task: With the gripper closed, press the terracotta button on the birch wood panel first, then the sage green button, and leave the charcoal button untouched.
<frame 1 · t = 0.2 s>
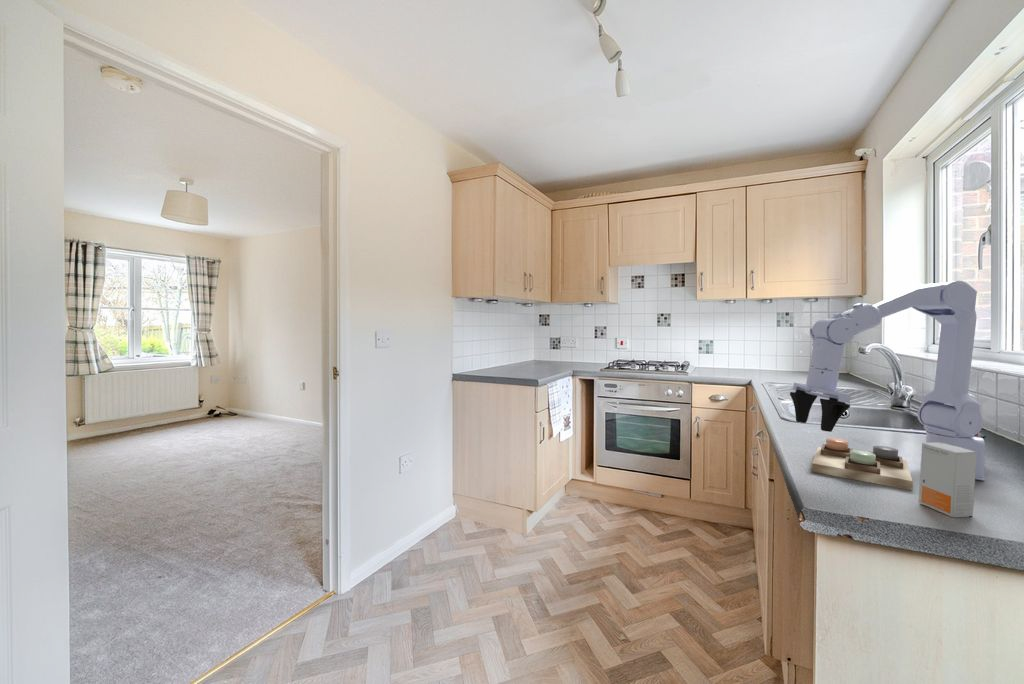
hand: (813, 426, 98), 10 cm above the countertop, tool pointing down, fingers open, 7 cm apart
charcoal button: (885, 452, 98), point 4 cm above the countertop, slide at 0.0 cm
terracotta button: (837, 444, 105), point 4 cm above the countertop, slide at 0.0 cm
soda can: (956, 461, 105), on the countertop
skincare box: (945, 511, 78), on the countertop
sage button: (862, 457, 95), point 4 cm above the countertop, slide at 0.0 cm
button panel: (859, 470, 99), on the countertop
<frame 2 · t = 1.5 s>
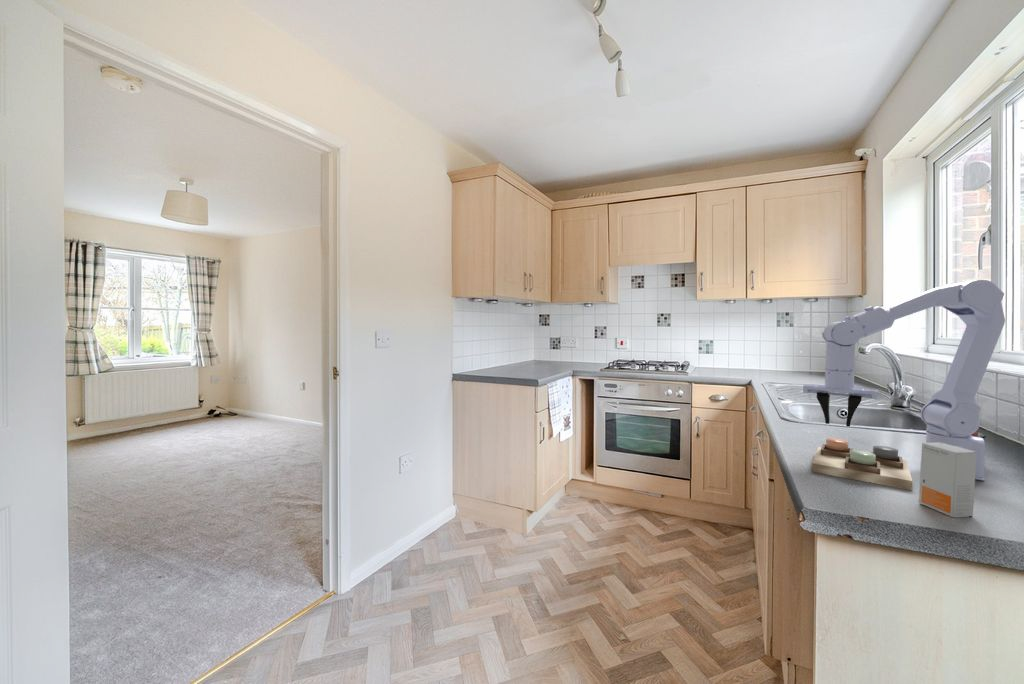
hand: (837, 424, 105), 9 cm above the countertop, tool pointing down, fingers open, 3 cm apart
nothing on the countertop moved.
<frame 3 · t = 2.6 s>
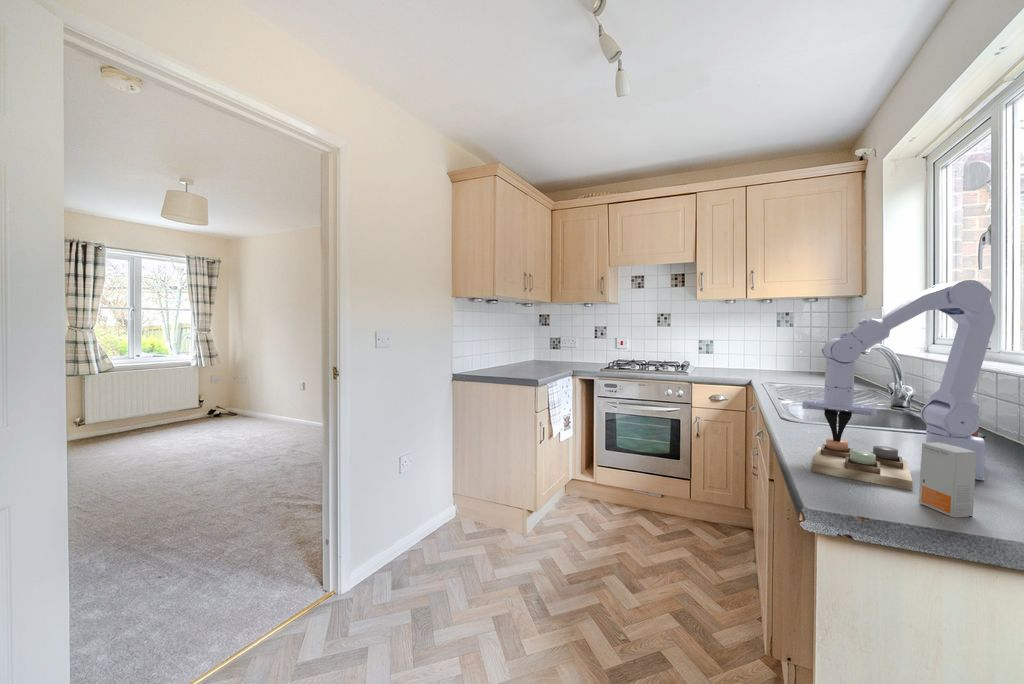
hand: (836, 440, 105), 5 cm above the countertop, tool pointing down, fingers closed, pressing on terracotta button
terracotta button: (837, 444, 105), point 4 cm above the countertop, slide at 0.0 cm, touching gripper
everything else where it was.
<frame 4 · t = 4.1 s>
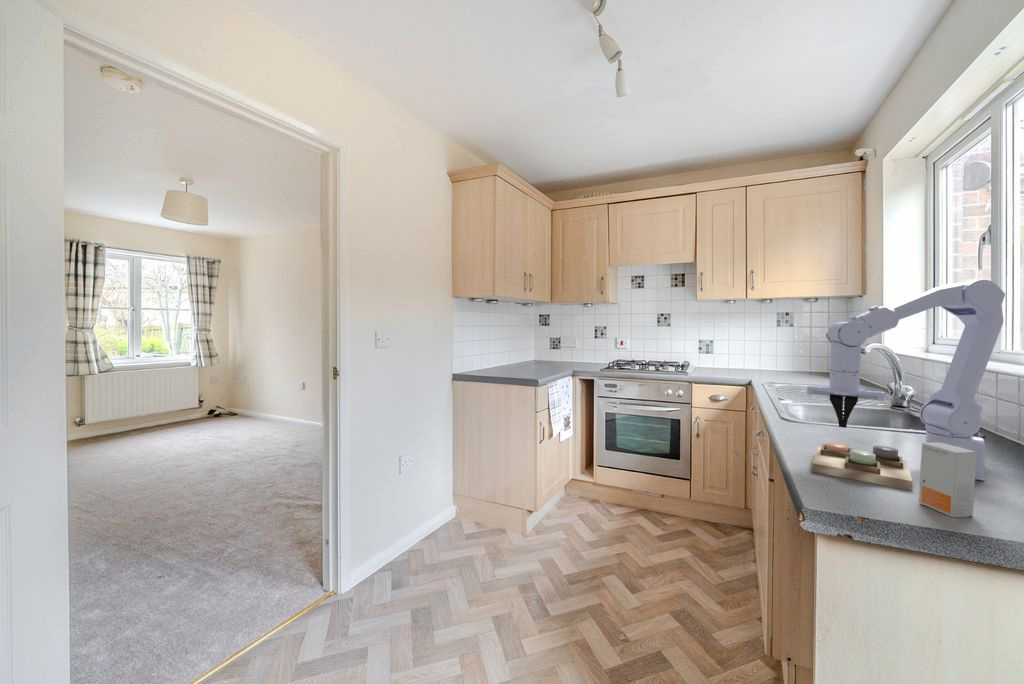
hand: (842, 426, 102), 9 cm above the countertop, tool pointing down, fingers closed
terracotta button: (836, 449, 105), point 3 cm above the countertop, slide at 1.3 cm
everything else where it was.
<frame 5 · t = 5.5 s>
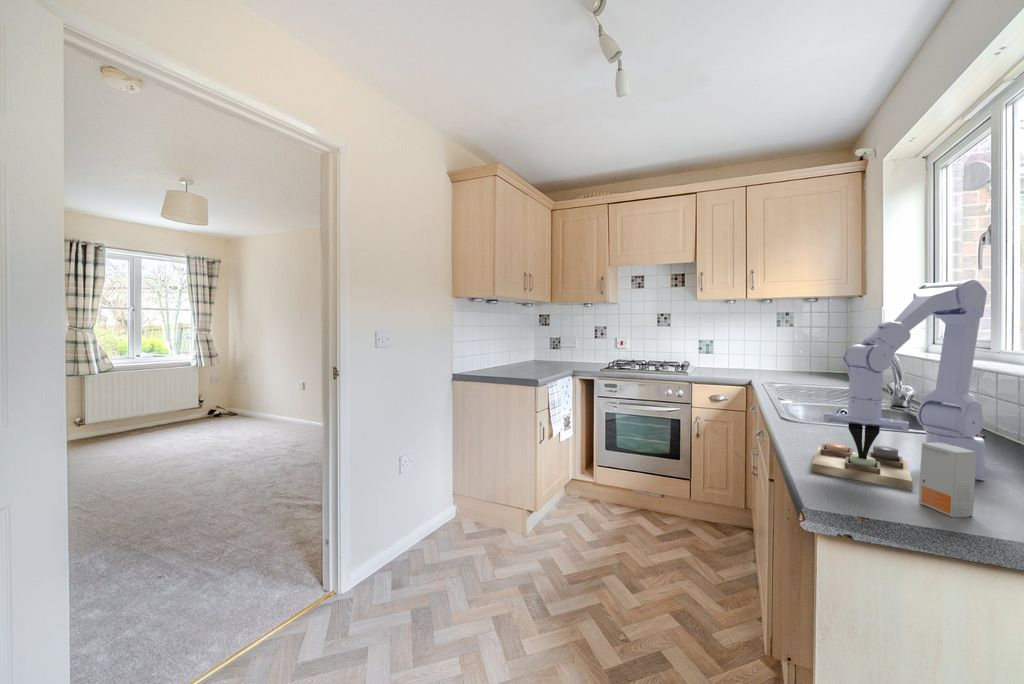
hand: (862, 457, 95), 4 cm above the countertop, tool pointing down, fingers closed, pressing on sage button
sage button: (862, 461, 95), point 3 cm above the countertop, slide at 1.0 cm, touching gripper
everything else where it was.
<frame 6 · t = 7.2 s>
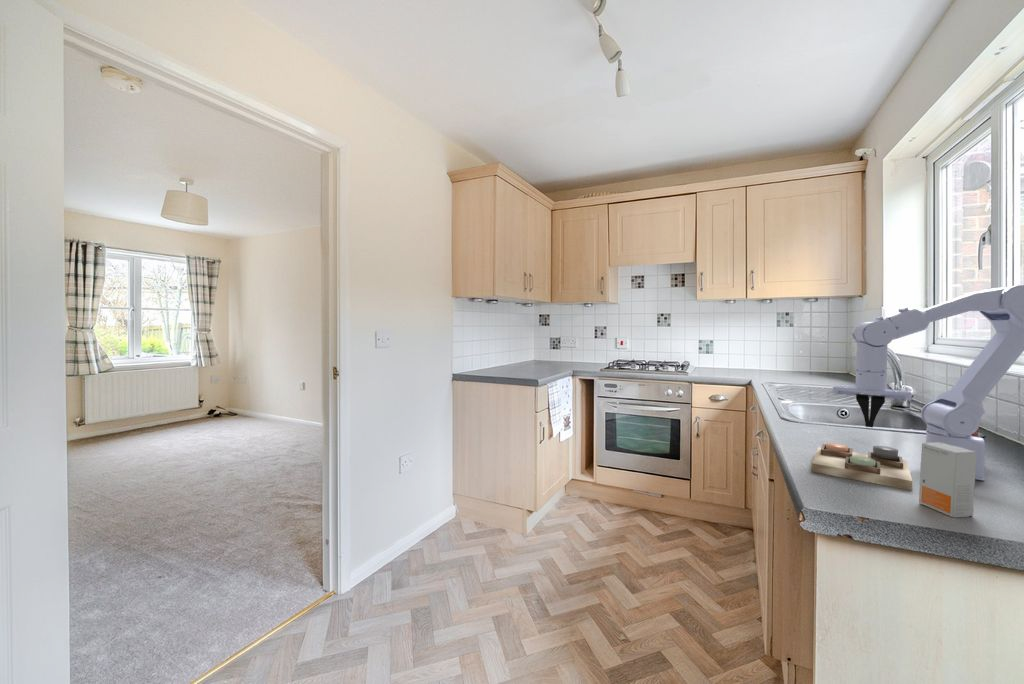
hand: (869, 426, 103), 9 cm above the countertop, tool pointing down, fingers closed
sage button: (862, 462, 95), point 3 cm above the countertop, slide at 1.3 cm
everything else where it was.
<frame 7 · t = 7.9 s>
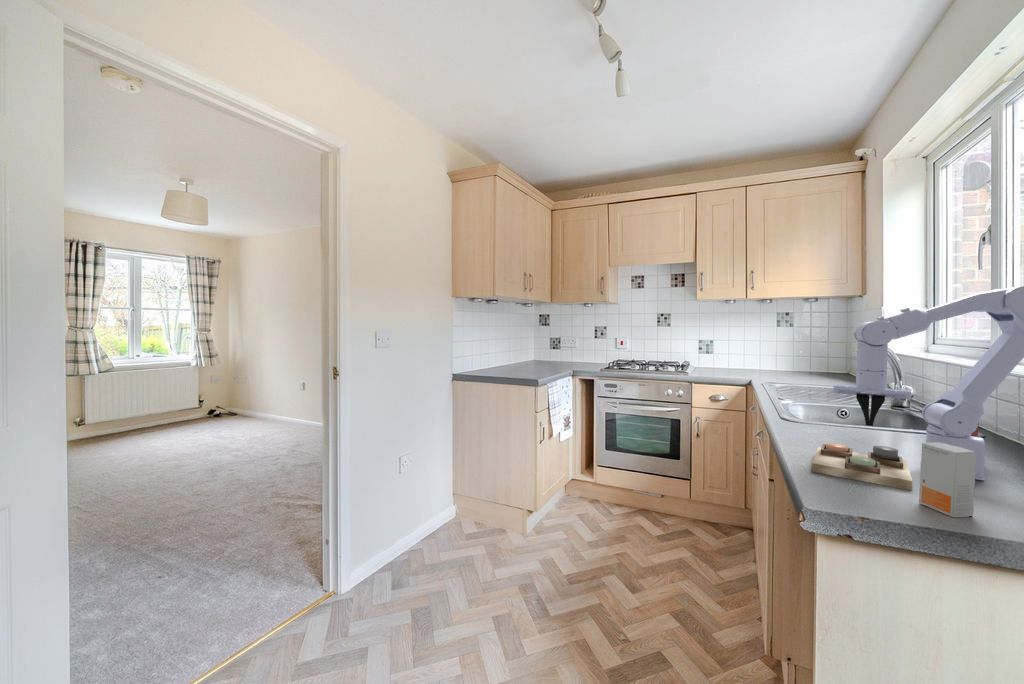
hand: (869, 425, 104), 9 cm above the countertop, tool pointing down, fingers closed
nothing on the countertop moved.
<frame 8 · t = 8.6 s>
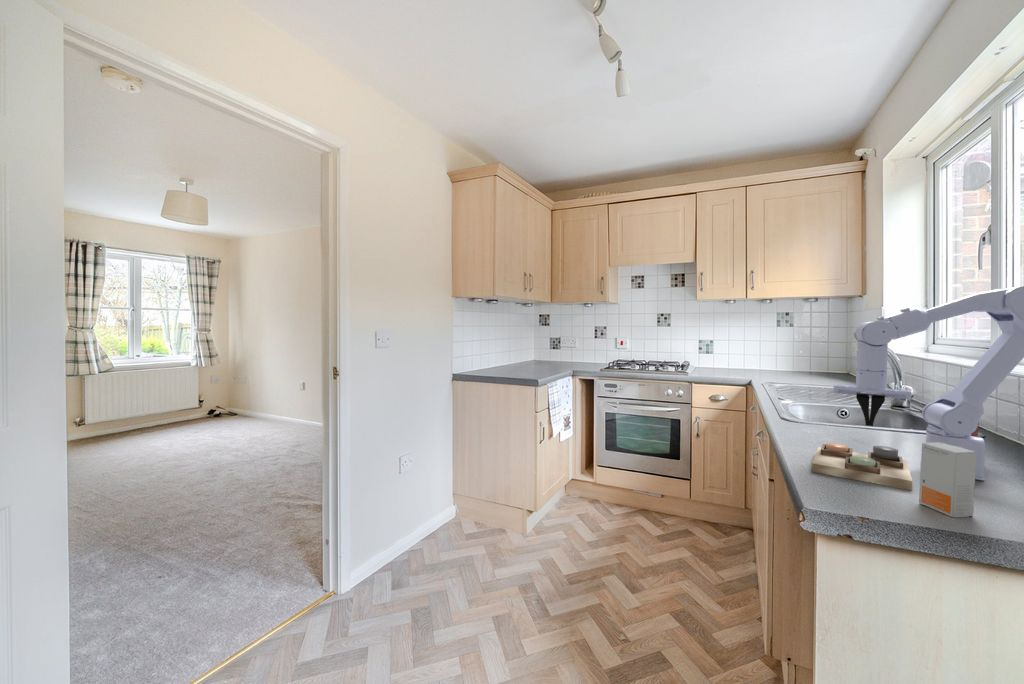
hand: (869, 425, 104), 9 cm above the countertop, tool pointing down, fingers closed
nothing on the countertop moved.
at the end: terracotta button slide at 1.3 cm; sage button slide at 1.3 cm; charcoal button slide at 0.0 cm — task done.
